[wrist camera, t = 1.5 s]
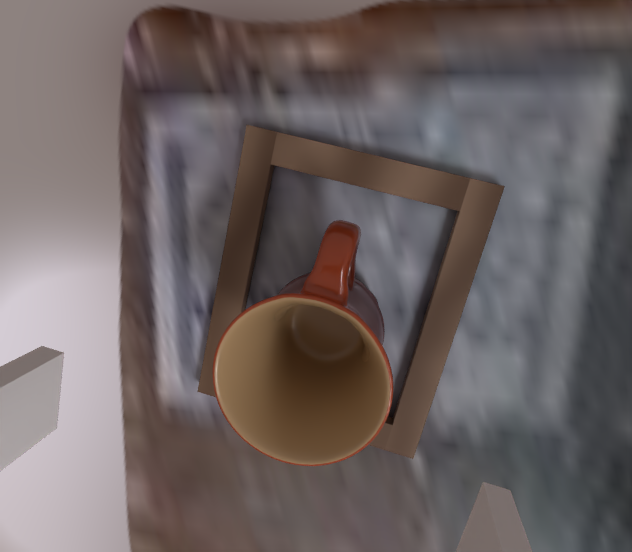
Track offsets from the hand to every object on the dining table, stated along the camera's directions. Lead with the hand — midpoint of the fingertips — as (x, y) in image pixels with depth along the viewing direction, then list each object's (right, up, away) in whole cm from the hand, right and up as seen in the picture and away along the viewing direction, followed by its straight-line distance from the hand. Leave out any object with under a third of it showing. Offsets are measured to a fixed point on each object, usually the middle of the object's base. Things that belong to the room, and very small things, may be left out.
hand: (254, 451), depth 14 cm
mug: (+3, +4, +18) cm, 18 cm away
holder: (+3, +4, +17) cm, 18 cm away
